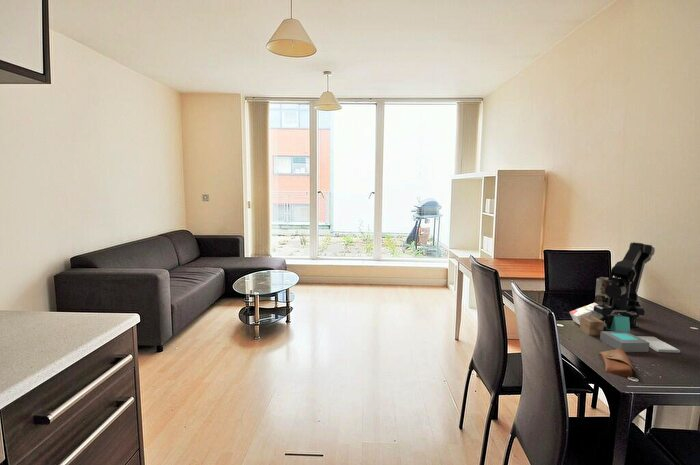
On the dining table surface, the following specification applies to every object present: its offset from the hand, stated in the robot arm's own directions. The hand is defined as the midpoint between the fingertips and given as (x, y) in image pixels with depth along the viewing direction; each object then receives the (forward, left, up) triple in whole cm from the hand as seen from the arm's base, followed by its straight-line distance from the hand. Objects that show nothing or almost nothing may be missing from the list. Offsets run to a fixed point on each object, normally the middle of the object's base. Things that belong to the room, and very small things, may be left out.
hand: (616, 328), depth 158 cm
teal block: (0, 0, -1) cm, 1 cm away
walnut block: (+12, +1, -1) cm, 12 cm away
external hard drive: (-6, +13, -2) cm, 15 cm away
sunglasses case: (+23, +29, -2) cm, 37 cm away
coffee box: (-17, -29, -2) cm, 34 cm away
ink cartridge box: (+13, -9, +1) cm, 16 cm away
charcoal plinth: (+8, +14, -2) cm, 16 cm away
